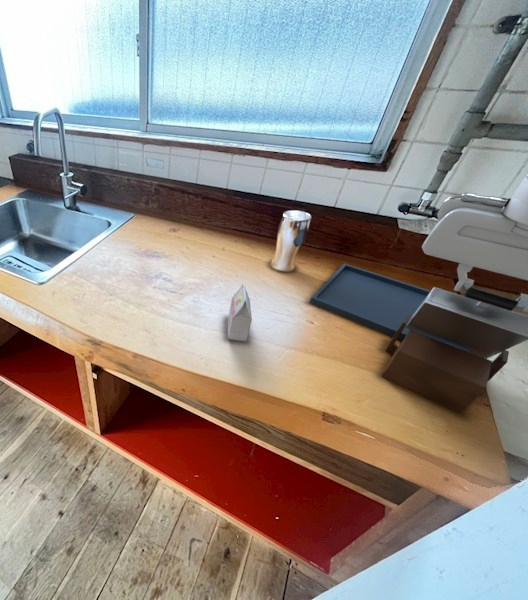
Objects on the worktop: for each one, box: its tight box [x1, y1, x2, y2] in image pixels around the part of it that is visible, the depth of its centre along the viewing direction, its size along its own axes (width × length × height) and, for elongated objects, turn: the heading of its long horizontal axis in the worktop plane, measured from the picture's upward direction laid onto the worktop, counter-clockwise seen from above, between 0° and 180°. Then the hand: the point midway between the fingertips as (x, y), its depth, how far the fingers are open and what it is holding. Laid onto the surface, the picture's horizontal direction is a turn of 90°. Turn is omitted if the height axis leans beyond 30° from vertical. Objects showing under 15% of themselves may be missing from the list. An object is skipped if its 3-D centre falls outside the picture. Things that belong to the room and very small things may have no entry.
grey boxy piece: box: [227, 283, 253, 342], centre depth 67 cm, size 4×7×10 cm, turn 166°
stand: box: [381, 315, 510, 415], centre depth 56 cm, size 14×11×8 cm
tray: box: [308, 263, 452, 346], centre depth 74 cm, size 28×22×2 cm
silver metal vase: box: [270, 209, 312, 273], centre depth 85 cm, size 7×7×15 cm
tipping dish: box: [405, 286, 528, 359], centre depth 53 cm, size 12×19×3 cm
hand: (489, 299), depth 47 cm, fingers closed on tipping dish, 5 cm apart
